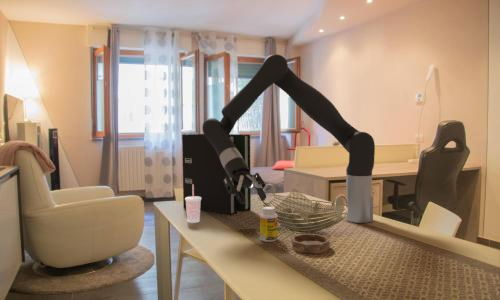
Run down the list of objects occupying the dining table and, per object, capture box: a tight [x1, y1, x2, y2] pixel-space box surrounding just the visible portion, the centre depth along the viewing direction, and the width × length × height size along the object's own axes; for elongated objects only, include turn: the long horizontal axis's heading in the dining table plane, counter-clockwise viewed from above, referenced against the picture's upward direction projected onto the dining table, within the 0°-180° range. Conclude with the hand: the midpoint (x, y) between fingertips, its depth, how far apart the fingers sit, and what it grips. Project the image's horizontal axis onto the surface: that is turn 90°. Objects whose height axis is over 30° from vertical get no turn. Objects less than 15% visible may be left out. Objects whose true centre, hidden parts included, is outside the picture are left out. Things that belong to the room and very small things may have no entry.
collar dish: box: [291, 233, 330, 255], centre depth 114 cm, size 11×11×3 cm
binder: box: [181, 133, 252, 217], centre depth 167 cm, size 27×15×32 cm, turn 51°
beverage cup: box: [185, 184, 201, 224], centre depth 146 cm, size 6×6×14 cm
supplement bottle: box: [259, 206, 279, 243], centre depth 122 cm, size 6×6×10 cm
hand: (254, 201), depth 127 cm, fingers open, 8 cm apart
